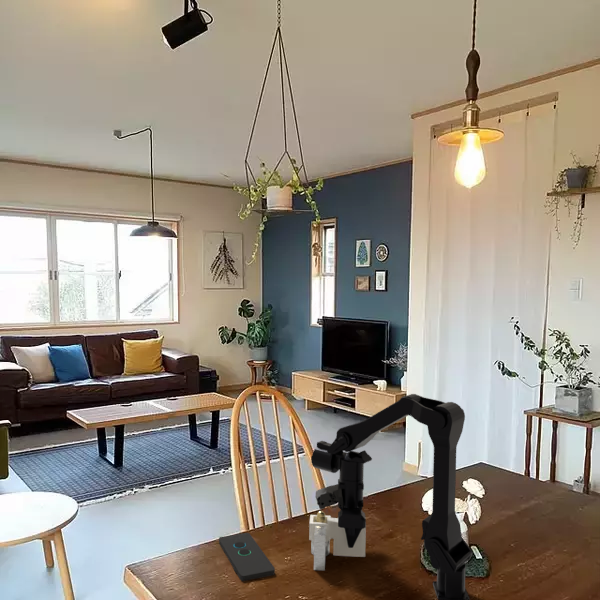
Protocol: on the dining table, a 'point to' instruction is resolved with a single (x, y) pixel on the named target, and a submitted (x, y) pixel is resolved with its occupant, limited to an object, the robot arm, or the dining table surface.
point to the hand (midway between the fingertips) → (350, 541)
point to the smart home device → (246, 557)
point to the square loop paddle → (339, 537)
